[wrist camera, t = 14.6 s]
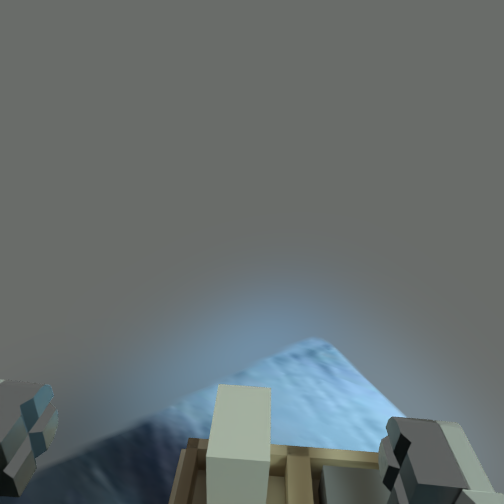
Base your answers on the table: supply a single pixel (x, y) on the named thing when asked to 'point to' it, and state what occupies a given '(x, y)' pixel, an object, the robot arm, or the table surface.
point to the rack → (293, 476)
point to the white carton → (239, 446)
